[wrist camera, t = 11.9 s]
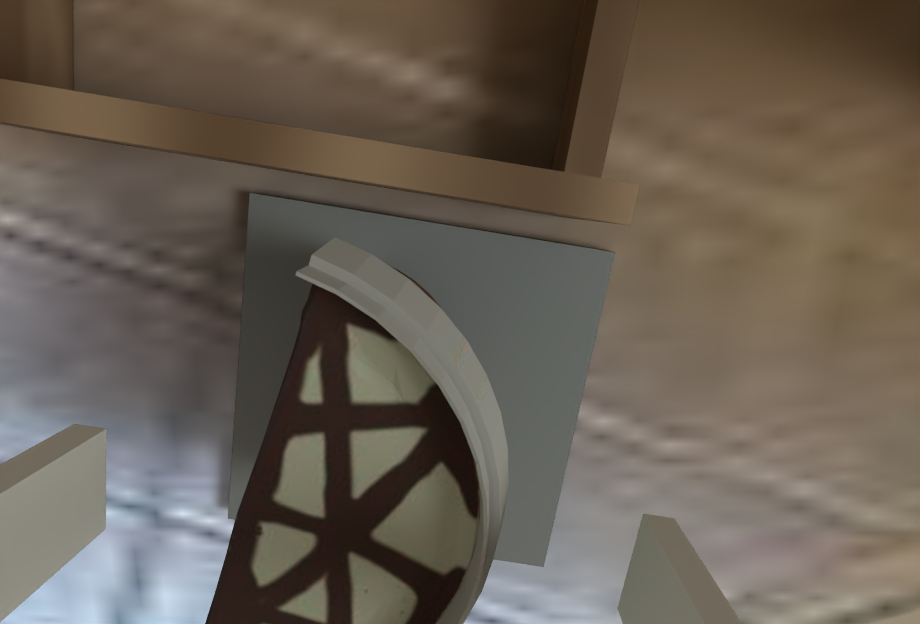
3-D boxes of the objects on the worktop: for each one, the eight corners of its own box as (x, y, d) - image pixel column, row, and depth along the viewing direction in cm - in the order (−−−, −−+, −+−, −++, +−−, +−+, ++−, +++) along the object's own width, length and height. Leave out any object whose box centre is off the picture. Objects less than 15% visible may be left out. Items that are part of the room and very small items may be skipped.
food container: (432, 542, 22) (400, 821, 12) (297, 495, 21) (150, 744, 11) (541, 281, 19) (616, 360, 9) (390, 224, 19) (304, 244, 9)
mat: (610, 251, 19) (614, 252, 19) (541, 557, 22) (543, 566, 22) (256, 193, 19) (249, 192, 19) (234, 510, 22) (227, 518, 21)
